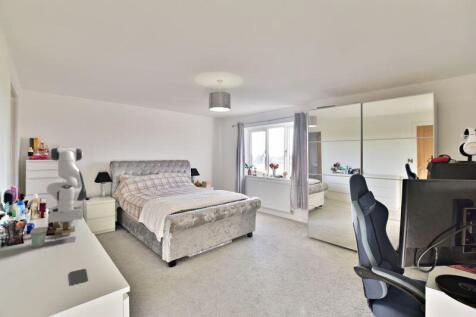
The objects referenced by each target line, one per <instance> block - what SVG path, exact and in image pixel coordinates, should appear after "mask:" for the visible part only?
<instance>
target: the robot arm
mask: <svg viewBox="0 0 476 317" xmlns="http://www.w3.org/2000/svg"><path fill="white" fill-rule="evenodd" d="M83 156H84V153H83V150H82V149H81V148H73V147H58V148H57V147H53V148H52V149H51V150H50V151H49V158H50V159H51V160H52V161H55V162H56V161H57V165H58V166H57V172H58V174H57V175H58V177H59V178H61V179H63V180H65V181H64V182H63V181H61V182H53V183H49V184H48V185H47V187H46V192H47V194H48V195H50V196H52V197H53V198H54V199H55V201H56V206H53V207H51V208H50V210H49V211H50V213H49V215H47V223H48V222H49V223H51V222H53V223H54V222H58V223H59V225H60V228H62V227H63V224H61V221H70V222H71V223H70V224H68V227H70V226H71V224H72V222H73V220H78V221H79V220H82V219H83V218H84V216H83V214H84V207H82V206H75V202H82V201H84V200H86V199H87V196H88V192H87V189H86V186H85V182H84V178H83V174H82V170H81V169H79V168H78V167H77V166H76V162H78V161H81V160H82V159H83ZM49 223H48V224H49Z"/></svg>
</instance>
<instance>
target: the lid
mask: <svg viewBox="0 0 476 317" xmlns="http://www.w3.org/2000/svg"><path fill="white" fill-rule="evenodd" d="M68 224H69V222H63V228H57V229H56V231H55V234H54V235H60V234H62V233H68V232H75V226H73V227H68Z"/></svg>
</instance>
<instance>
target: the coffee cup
mask: <svg viewBox="0 0 476 317" xmlns="http://www.w3.org/2000/svg"><path fill="white" fill-rule="evenodd" d="M47 229H48V228H47V227H46V226H41V227H40V226H39V227H34V228H32V229H31V230H30V232H29V233H30V239H31V246H32V248H33V249H36V248H40V247H44V246H45V241H46V238H47V237H46V235H47V234H46V231H47Z"/></svg>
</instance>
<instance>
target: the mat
mask: <svg viewBox="0 0 476 317" xmlns="http://www.w3.org/2000/svg"><path fill="white" fill-rule="evenodd" d="M75 242H76V236H75V235H74V236H67V237H62V238H56V239H54V242H53V246H56V245H63V244H70V243H75Z"/></svg>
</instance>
